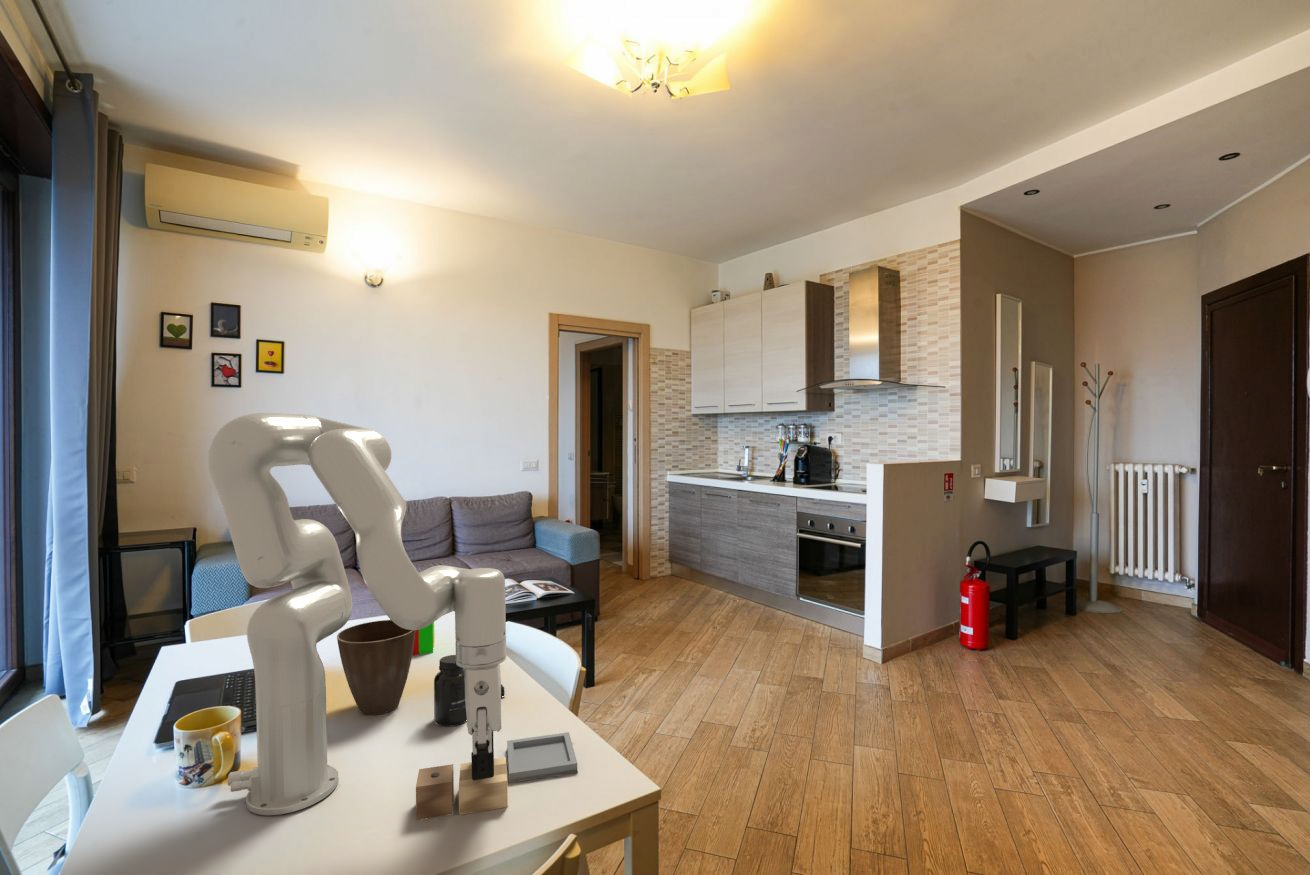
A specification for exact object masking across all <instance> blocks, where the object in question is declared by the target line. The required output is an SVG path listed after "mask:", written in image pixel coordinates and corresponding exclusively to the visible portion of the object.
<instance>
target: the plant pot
mask: <svg viewBox="0 0 1310 875" xmlns="http://www.w3.org/2000/svg"><path fill="white" fill-rule="evenodd" d="M415 632H416V630H407V629H404V628H401V627H400V626H398V625H397V624H395V623H394V622H393V621H392V620H390V619H385V620H375V621H369V622H363V623H360V624H357V625H356V624H355V625H353V626H350V627H347V628H345V629H343V630H340V632H338V633H337V635H336V640H337V646H338V652H339V656H340V660H341V664H342V669H343V673H344V675H345V679H346V682H347V684H348V688H349V690H350V693H351V696H352V698H353V700H354V702H355V704H356V707H357V708H358V710H359V712H360V713H361V714H362V715H365V716H366V715H367V716H375V715H382V714H386V713H388V712H390V711H394V710H395V709H396V708H397V707H398V706H399V704H400V702H401V699H402V696H403V693H404V690H405V687H406V684H407V679H408V676H409V673H410V669H411V664H412V659H413V655H412V654H413V648H414V640H415Z"/></svg>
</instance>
